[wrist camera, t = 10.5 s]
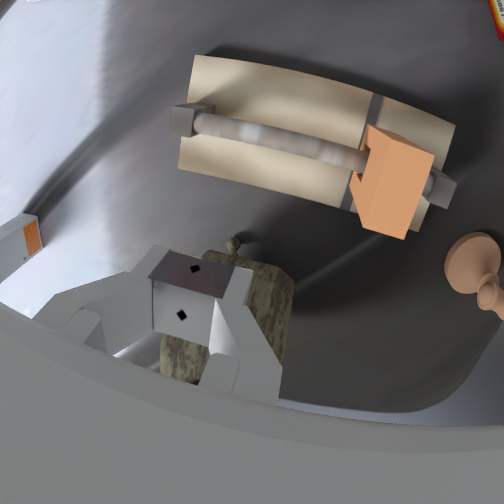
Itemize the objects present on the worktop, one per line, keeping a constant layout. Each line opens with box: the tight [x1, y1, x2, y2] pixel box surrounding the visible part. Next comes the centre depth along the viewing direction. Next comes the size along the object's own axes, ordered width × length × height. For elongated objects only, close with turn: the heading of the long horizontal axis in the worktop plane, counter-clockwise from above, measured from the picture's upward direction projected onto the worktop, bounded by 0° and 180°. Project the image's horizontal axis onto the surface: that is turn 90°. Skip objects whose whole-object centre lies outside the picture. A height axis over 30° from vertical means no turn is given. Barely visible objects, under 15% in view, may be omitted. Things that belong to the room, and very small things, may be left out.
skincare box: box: [0, 213, 43, 283], centre depth 38 cm, size 6×4×12 cm
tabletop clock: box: [160, 238, 294, 386], centre depth 29 cm, size 14×9×25 cm, turn 170°
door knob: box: [445, 232, 504, 320], centre depth 29 cm, size 8×10×8 cm
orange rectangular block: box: [349, 124, 435, 240], centre depth 22 cm, size 3×6×9 cm, turn 169°
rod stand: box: [168, 55, 457, 232], centre depth 27 cm, size 12×26×8 cm, turn 79°
